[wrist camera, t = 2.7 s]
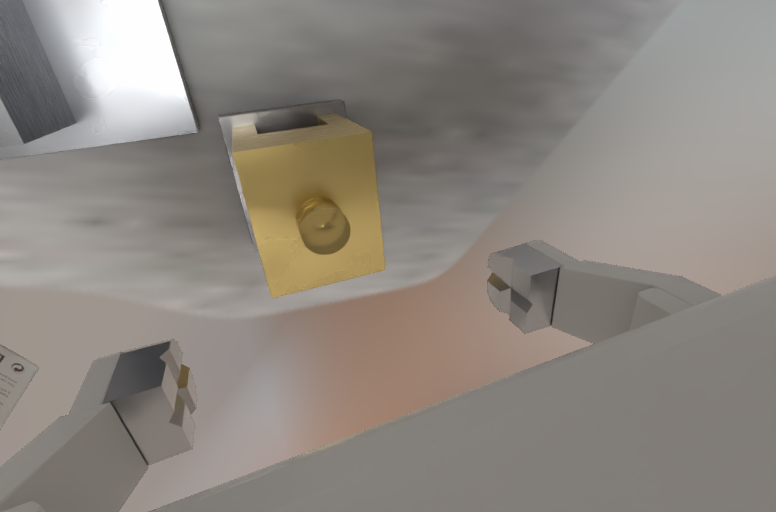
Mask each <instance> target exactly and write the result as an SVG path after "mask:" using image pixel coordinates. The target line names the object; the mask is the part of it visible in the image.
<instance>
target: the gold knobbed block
mask: <svg viewBox="0 0 776 512" xmlns="http://www.w3.org/2000/svg"><path fill="white" fill-rule="evenodd" d="M316 117H317V123H318V126H313V127H306V128H299V129H292V130H285V131H278V132H271V133H264V134H257V131H256V128H255V125H254V124H253V125H246V126H238V127H232V154H233V158H234V162H235V165H236V169H237V173H238V176H239V180H240V184H241V187H242V191H243V195H244V198H245V202H246V206H247V209H248V213H249V217H250V220H251V224H252V228H253V232H254V235H255V239H256V243H257V246H258V250H259V254H260V257H261V261H262V265H263V268H264V272H265V276H266V279H267V283H268V287H269V290H270V294H271V298H276V297H280V296H284V295H288V294H292V293H296V292H299V291H303V290H307V289H311V288H315V287H319V286H323V285H327V284H331V283H335V282H339V281H343V280H347V279H351V278H355V277H359V276H363V275H367V274H371V273H375V272H379V271H383V270H385V260H384V250H383V239H382V229H381V219H380V209H379V199H378V188H377V178H376V168H375V158H374V148H373V138H372V131H370V130H368V129H366V128H364V127H362V126H360V125H358V124H356V123H354V122H352V121H350V120H348V119H346V118H344V117H342V116H340V115H338V114H336V113H334V114H327V115H319V116H316Z"/></svg>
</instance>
